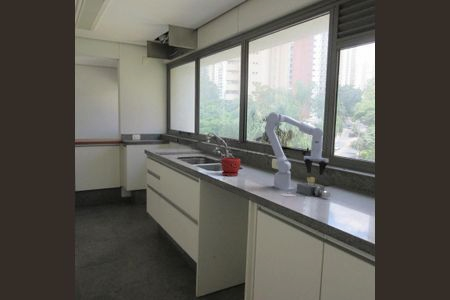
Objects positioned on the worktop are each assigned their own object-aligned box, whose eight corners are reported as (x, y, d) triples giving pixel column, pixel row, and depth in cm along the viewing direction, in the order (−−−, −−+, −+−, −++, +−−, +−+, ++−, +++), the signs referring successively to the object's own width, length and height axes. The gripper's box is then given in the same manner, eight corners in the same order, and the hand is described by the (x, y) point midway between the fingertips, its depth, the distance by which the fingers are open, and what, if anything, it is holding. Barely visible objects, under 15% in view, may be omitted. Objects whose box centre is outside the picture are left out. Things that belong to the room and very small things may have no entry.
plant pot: (237, 177, 214) (237, 159, 213) (218, 175, 218) (219, 158, 217) (242, 174, 227) (242, 157, 226) (224, 173, 231) (225, 156, 230)
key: (310, 189, 172) (311, 176, 172) (314, 190, 170) (314, 177, 169) (306, 190, 171) (307, 177, 170) (310, 191, 169) (310, 178, 168)
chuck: (296, 192, 173) (297, 183, 173) (311, 191, 177) (311, 182, 177) (320, 200, 157) (320, 190, 156) (335, 199, 161) (335, 189, 161)
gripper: (301, 148, 179) (299, 172, 180) (324, 150, 168) (322, 176, 169) (308, 148, 184) (307, 171, 185) (331, 150, 173) (329, 175, 174)
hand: (315, 173), depth 177 cm, fingers open, 7 cm apart
